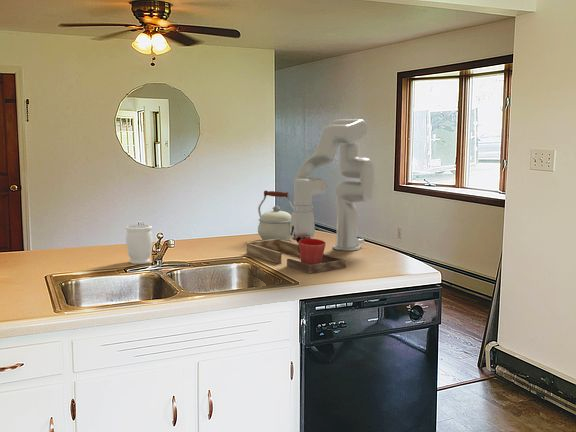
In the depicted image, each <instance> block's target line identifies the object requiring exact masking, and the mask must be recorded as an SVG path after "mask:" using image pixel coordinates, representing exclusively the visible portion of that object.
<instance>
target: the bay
mask: <svg viewBox="0 0 576 432" xmlns="http://www.w3.org/2000/svg"><path fill="white" fill-rule="evenodd" d="M286 266H287V267H289V268H292V269H295V270H297V271H301V272H304V273H308V274H315V273H321V272H326V271H332V270H338V269H339V270H340V269H344V268H347V259H344V258H339V257H336V256H332V255H328V254H325V253H323V257H322V260H321V263H319V264H313V265H310V264H306V263H303V262H301V260H295V259H293V258H286Z"/></svg>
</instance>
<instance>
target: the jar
mask: <svg viewBox="0 0 576 432" xmlns="http://www.w3.org/2000/svg"><path fill="white" fill-rule="evenodd" d="M152 229H153V226H152V225H149V224H131V225H127V226H125V230H126V235H125V236H126V237H125V245H126V251H127V254H128V257H129V258H130V259H129V260H128V262H129V263H130V264H133V265H144V264H145V265H146V264H149V263H150V262H151V259H150V257H151V255H152V251H153V250H152V249H153V242H154V241H153V233H152Z"/></svg>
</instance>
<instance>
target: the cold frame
mask: <svg viewBox="0 0 576 432" xmlns="http://www.w3.org/2000/svg"><path fill="white" fill-rule="evenodd" d="M298 246H299V243H295V242H291V241H290V242H288V241H284V240H282V239H271V240H263V241H262V240H256V241H249V242H246V250H245V251H246V254H247V255H250V256H253V257H255V258H256V257H257V258H260V259H263V260H266V261H270V262H273V263H276V264H282V252H286V253H290V254H293V255H297V256H300V253H299V250H298ZM280 251H282V252H280Z"/></svg>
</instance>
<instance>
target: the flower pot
mask: <svg viewBox="0 0 576 432" xmlns="http://www.w3.org/2000/svg"><path fill="white" fill-rule="evenodd" d="M298 244H299V251H300V255H299V257H300V262H303V263H306V264H310V265H313V264H319V263H322V262H321V260H322V257H323V254H325V249H326V244H327V243H326V241H324V240H322V239H318V238H311V239H301V240H299V243H298Z"/></svg>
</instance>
